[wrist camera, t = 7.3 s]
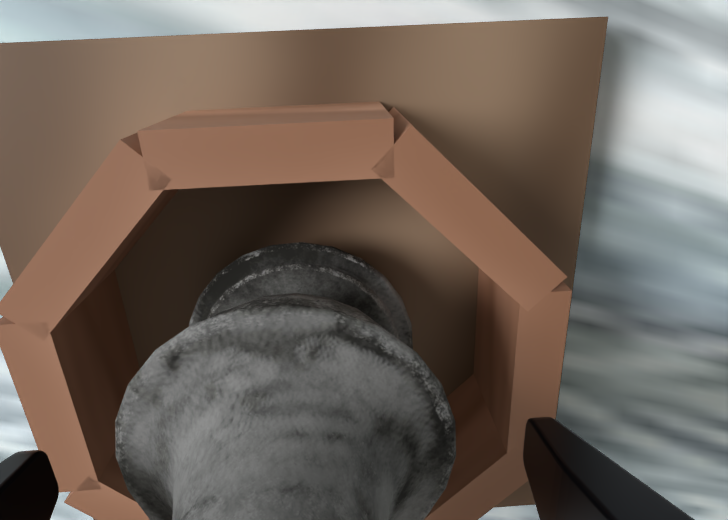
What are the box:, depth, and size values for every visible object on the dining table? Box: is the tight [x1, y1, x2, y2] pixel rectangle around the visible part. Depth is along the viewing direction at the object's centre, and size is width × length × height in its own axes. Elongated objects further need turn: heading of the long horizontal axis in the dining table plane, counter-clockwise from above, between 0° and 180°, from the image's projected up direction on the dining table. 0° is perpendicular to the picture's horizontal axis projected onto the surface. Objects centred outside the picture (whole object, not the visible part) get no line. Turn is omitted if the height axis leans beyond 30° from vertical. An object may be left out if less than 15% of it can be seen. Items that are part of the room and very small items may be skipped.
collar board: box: [0, 17, 608, 520], centre depth 12 cm, size 14×14×4 cm
